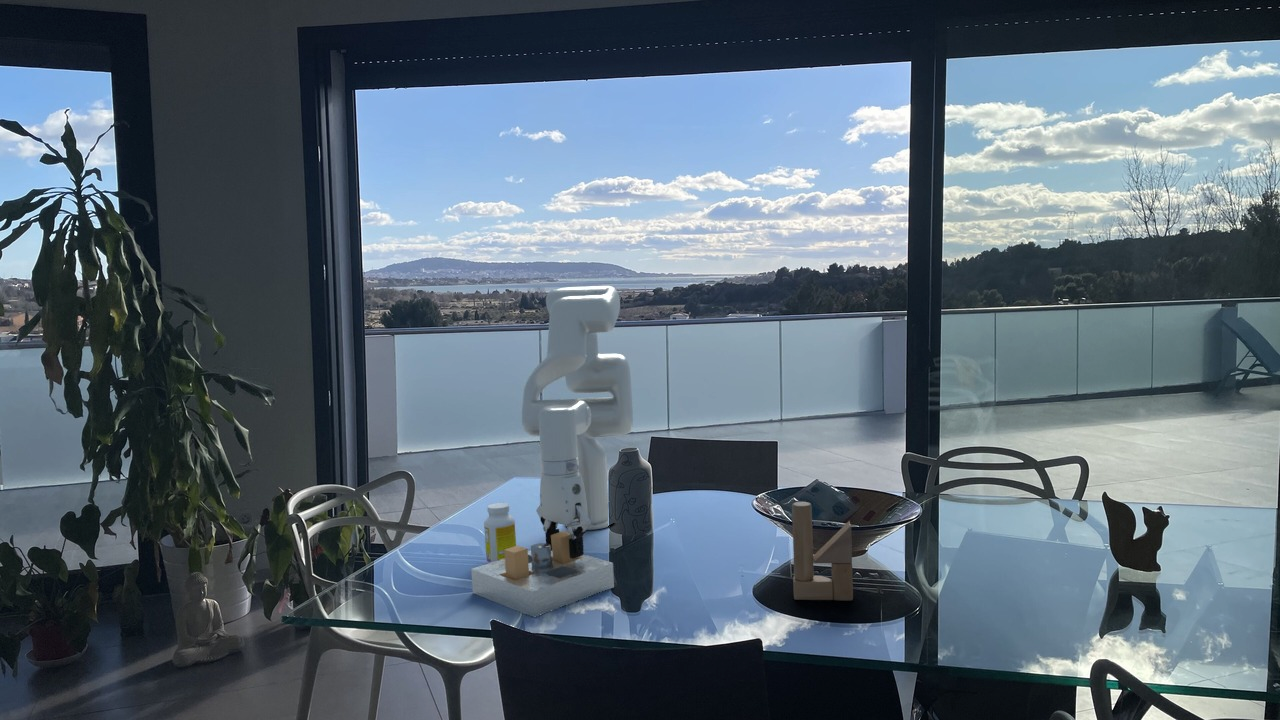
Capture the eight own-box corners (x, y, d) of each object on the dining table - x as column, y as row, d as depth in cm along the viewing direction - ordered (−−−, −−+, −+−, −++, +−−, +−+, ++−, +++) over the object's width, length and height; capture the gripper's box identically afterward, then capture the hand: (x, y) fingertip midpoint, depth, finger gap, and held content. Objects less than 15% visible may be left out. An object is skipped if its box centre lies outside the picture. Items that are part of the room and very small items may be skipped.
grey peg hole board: (551, 566, 193) (548, 525, 192) (614, 587, 178) (611, 543, 177) (472, 593, 179) (469, 549, 178) (534, 617, 164) (531, 570, 164)
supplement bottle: (523, 559, 199) (519, 502, 197) (506, 568, 193) (502, 510, 191) (497, 556, 201) (494, 500, 200) (480, 565, 195) (476, 508, 194)
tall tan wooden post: (520, 594, 177) (517, 545, 176) (530, 598, 174) (527, 548, 173) (507, 599, 174) (504, 549, 173) (517, 603, 172) (514, 552, 171)
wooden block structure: (853, 601, 165) (851, 506, 163) (794, 600, 167) (791, 506, 165) (851, 594, 169) (849, 500, 167) (793, 593, 170) (790, 501, 169)
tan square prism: (567, 577, 185) (563, 530, 184) (577, 581, 183) (572, 533, 181) (555, 582, 183) (550, 535, 182) (564, 586, 181) (560, 538, 179)
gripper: (602, 468, 177) (607, 556, 178) (547, 458, 189) (552, 540, 191) (573, 476, 171) (578, 566, 173) (519, 465, 184) (524, 549, 186)
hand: (564, 552), depth 182 cm, fingers open, 6 cm apart
